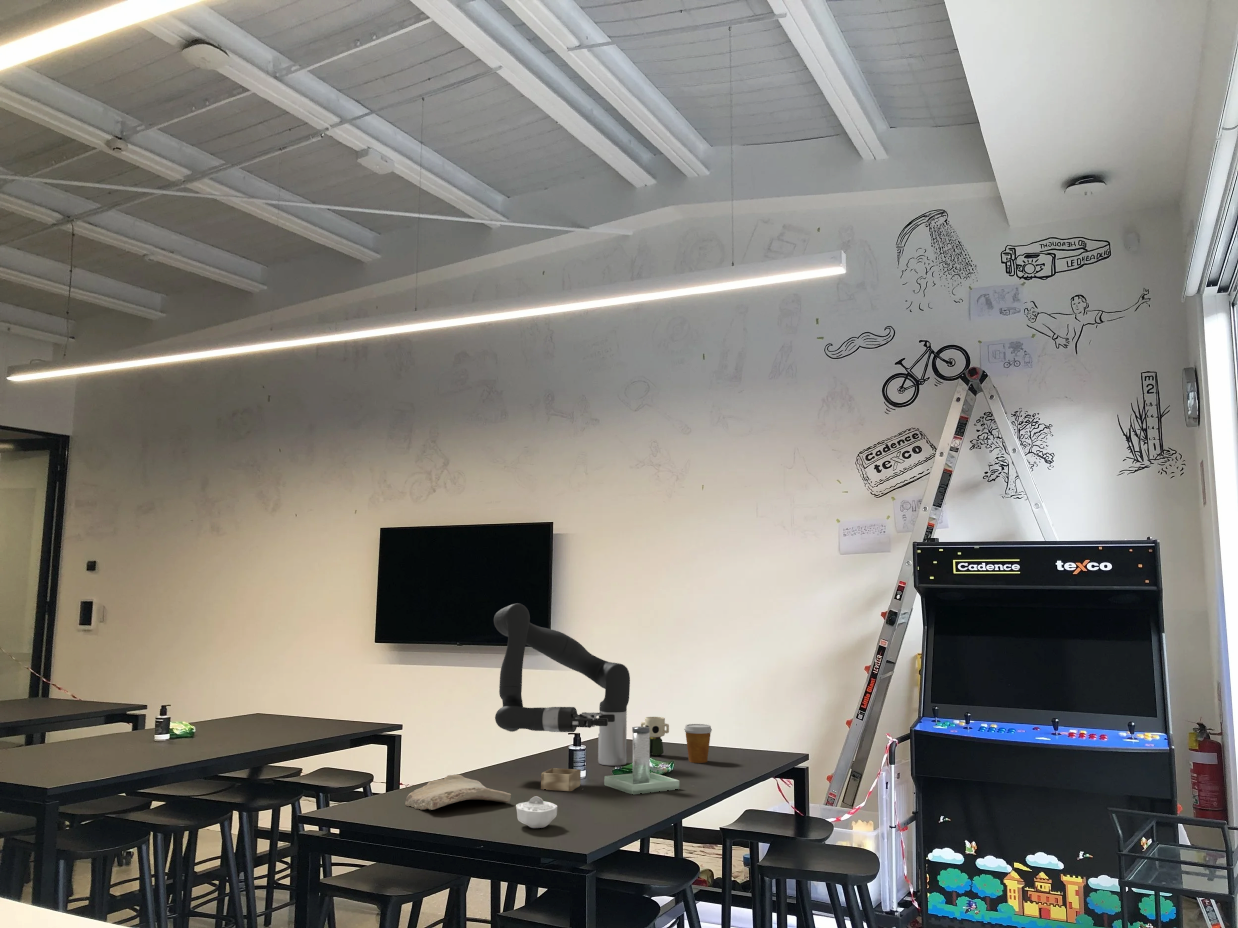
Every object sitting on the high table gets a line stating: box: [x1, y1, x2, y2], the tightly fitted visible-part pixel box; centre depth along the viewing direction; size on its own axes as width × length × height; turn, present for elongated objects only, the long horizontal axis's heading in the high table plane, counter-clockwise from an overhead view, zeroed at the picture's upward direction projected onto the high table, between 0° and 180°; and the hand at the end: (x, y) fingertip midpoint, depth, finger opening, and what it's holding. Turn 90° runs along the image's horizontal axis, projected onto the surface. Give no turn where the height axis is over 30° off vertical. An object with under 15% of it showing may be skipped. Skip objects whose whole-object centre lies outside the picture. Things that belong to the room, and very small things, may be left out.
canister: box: [631, 726, 651, 784], centre depth 287 cm, size 5×5×16 cm
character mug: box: [640, 716, 670, 757], centre depth 345 cm, size 11×7×13 cm, turn 64°
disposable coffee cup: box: [683, 723, 713, 764], centre depth 332 cm, size 10×10×12 cm
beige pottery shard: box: [404, 774, 512, 811], centre depth 261 cm, size 24×8×20 cm
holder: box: [540, 767, 582, 792], centre depth 285 cm, size 9×9×4 cm
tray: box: [604, 771, 680, 795], centre depth 286 cm, size 16×16×2 cm
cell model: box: [515, 795, 558, 829], centre depth 236 cm, size 10×12×7 cm
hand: (611, 719), depth 294 cm, fingers open, 8 cm apart
